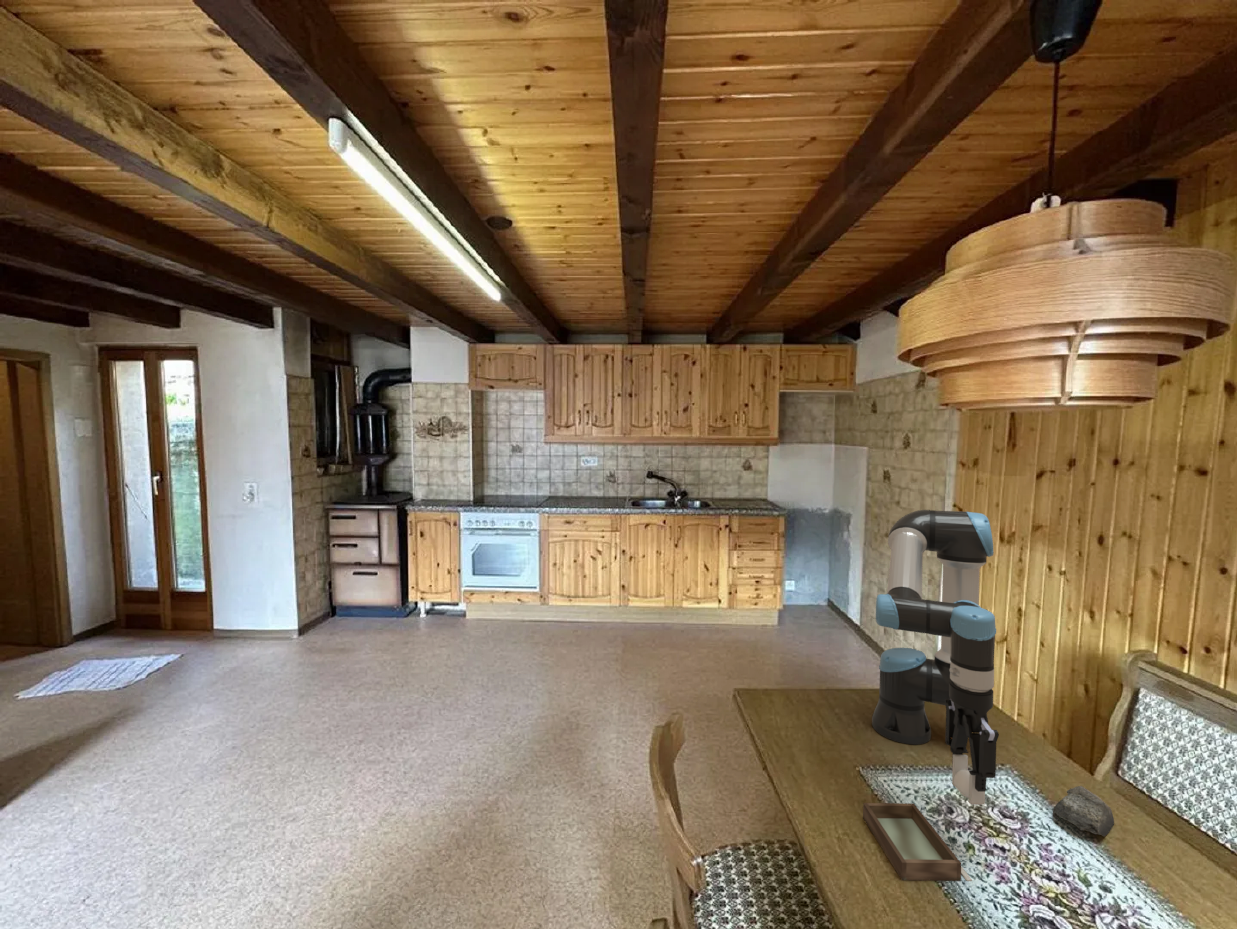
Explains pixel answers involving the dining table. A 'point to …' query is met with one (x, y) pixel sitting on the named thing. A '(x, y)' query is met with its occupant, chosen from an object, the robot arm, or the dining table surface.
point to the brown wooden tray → (911, 842)
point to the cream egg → (962, 782)
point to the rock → (1085, 811)
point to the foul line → (965, 875)
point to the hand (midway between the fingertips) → (967, 793)
